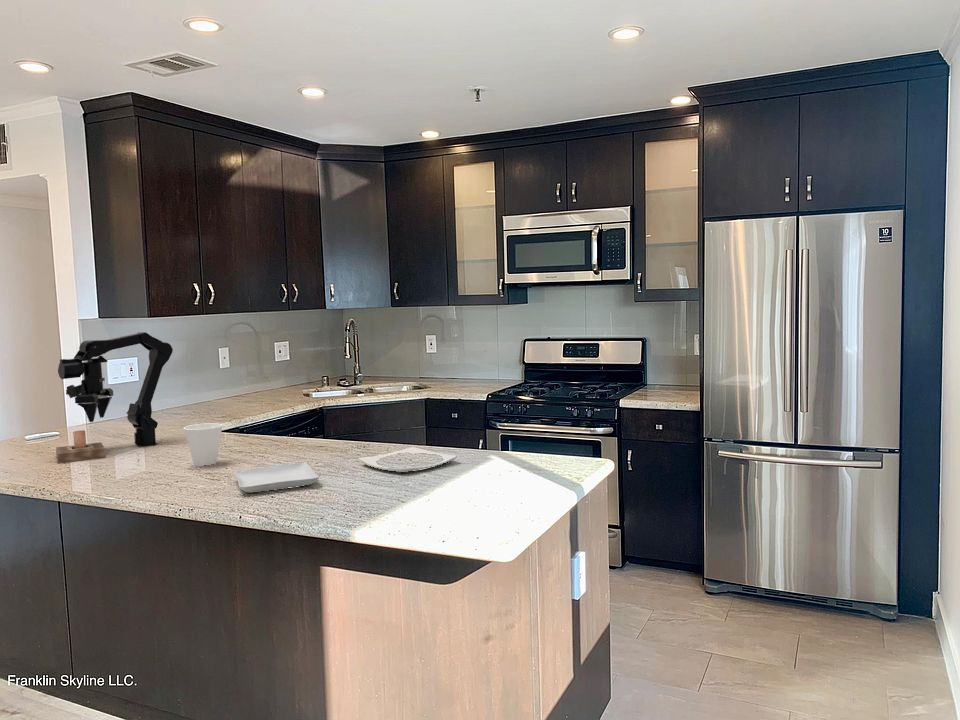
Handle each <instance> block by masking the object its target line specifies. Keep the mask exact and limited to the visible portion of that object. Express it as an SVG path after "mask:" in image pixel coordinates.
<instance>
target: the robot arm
mask: <svg viewBox="0 0 960 720" xmlns="http://www.w3.org/2000/svg"><path fill="white" fill-rule="evenodd" d="M139 344H140V345H141V346H142V347H143V348H144V349H146V350H147V351H148V361H149V362H148V363H149V365H148V368H147V370H146V373H145V376H144V379H143V383H142V386H141V388H140V391H139V395H138V397H137V400H136V401H135V402H134V403H131V402H130V403H129V406H128V410H127V412H126V414H127V417H126V418H127V420H128V423H130V424H132V426H133V427H132V428H133V429H135V432H134V433H133V436H134V437H133V438H134V444H135V445H136V446H137V447H145V446H146V447H147V446H152V445H157V444H158V443H157V442H156V441H157V440H156V429H157V427H158V426H159V425H158V424H159V422H157V420H155V419H154V418H153V417H152V413H153V409H152V402H153V398H154V395H155V392H156V389H157V385H158V382H159V380H160V377H161V373H162V370H163V368H164V366H165V365H166V364H167V362H168V361H169V360H170V358H171V356H172V355H173V349H174V348H173V347H172V344H170V343H168V342H164V341H162V340H160V339H158V338H156V337H154V336H152V335H150V334H149V333H147V332H146V331H145V332H144V331H143V332H140V331H139V332H137V333H134V334H128V335H124V336H119V337H114V338H109V339H96V340H95V339H94V340H93V339H92V340H91V339H89V340H83V341H82V342H81V343H80V345H79V347H78V351H77V352H76V354H75V355H74V357H73V358H67V359H65V358H62V359H59V364H58V368H57V374H58V376H59V378H60V379H61V380H67V379H76V378H81V376H82V375H83V379H82V380H81V382H80V383H81V384H79V385H74V384H70V385H68V386H66V390H65V395H67V396H68V397H69V399H73V398H74V404H77V406H80V407H82V408H83V410H84V412H85V415H86V417H87V419H88V421H89V422H90V423H94V421H95V417H96V413H97V411H98V416H99V418H100V419H101V418H105V415H106V412H107V410H108V407H109V405H110V403H111V400H112V399H113V396H114V390H113V389H112V388H110V387H109V388H108V387H107V388H106V387H105V388H104V382H105V377H103V368H102V363H107V362H108V359H106V358H104V356H103V355H105V354H107V353H108V352H110V351H112V350H118V349H122V348H127V347H130V346H136V345H139ZM126 414H125V415H126Z"/></svg>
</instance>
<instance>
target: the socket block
mask: <svg viewBox="0 0 960 720" xmlns="http://www.w3.org/2000/svg"><path fill="white" fill-rule="evenodd" d="M55 450H56V460H57V464H65V463H73V462H82V461H90V460H96V459H98V460H99V459H105V458H106V448H105V446H104V445H103V443H102V441H101V442H93V443H86V448H79V449H74V444H73V445H65V446H57V447H55Z"/></svg>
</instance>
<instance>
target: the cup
mask: <svg viewBox="0 0 960 720" xmlns="http://www.w3.org/2000/svg"><path fill="white" fill-rule="evenodd" d="M222 429H223V424H222V423H218V422H217V423H216V422H207V423H205V422H204V423H196V424H190V425H186V426H184V427H183V431H184V435H185V439H186V443H187V445H188V448H189V452H190V457H191V459H192V463H193V466H194V465H196V466H195V467H204V466H203V465H210V464H214V463H216V462H218V455H219V450H220V449H219V448H220V443H221V437H222V431H223V430H222ZM216 464H217V463H216ZM214 465H215V464H214ZM210 466H211V465H210Z"/></svg>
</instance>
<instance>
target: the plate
mask: <svg viewBox="0 0 960 720" xmlns="http://www.w3.org/2000/svg"><path fill="white" fill-rule="evenodd" d="M405 452H410V453H427V454H437V455H440V456H442V457H443V459H444V460H443V461H442V462H440V463H436V464H433V465H428V466H423V467H418V468H388V467H382V466H379V465H377V463H376V461H378V460H379V459H380V458H383V457H386V456H390V455H393V454H397V453H405ZM457 458H458V455H454V454H445V453H440V452H439V453H438V452H434V451H429V450H425V449H422V448H419V447H414V446H410V447H408V448H407V447H406V448H404V449H401V450H397V451H394V452H388V453H384V454H379V455H374V456H365V457H358V461H360V462H361V463H362V464H364V465H367V466H368V467H370V466H371V468H373V467H374V469H377V468H378V469H377V470H380V469H382V470H381V471H383V470H388V471H387V472H389V471H396V472H395V473H401V472H406V473H408V472H407V471H413V470H419V469H423V468H428V467H432V466H436V465H440V464H443V463H446V462H448V463H450V462H449V461H451V462H453V461H455V460H456V459H457ZM452 460H453V461H452ZM446 464H447V463H446Z"/></svg>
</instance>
